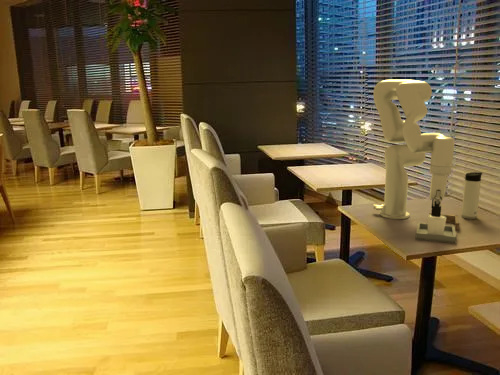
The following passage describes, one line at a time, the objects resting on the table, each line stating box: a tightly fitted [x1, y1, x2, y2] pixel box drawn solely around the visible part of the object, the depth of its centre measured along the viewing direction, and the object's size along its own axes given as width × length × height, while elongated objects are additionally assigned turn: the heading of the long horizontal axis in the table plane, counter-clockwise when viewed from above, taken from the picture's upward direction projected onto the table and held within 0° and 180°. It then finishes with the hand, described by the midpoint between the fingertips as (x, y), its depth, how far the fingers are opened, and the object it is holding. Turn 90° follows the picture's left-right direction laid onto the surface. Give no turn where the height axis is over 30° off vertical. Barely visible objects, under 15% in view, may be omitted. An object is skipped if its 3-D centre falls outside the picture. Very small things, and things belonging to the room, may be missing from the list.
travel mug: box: [461, 171, 483, 220], centre depth 206 cm, size 6×7×20 cm
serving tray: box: [415, 222, 457, 244], centre depth 185 cm, size 14×14×2 cm
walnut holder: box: [428, 212, 460, 231], centre depth 198 cm, size 11×12×3 cm
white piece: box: [426, 214, 447, 235], centre depth 184 cm, size 7×7×7 cm
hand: (435, 212), depth 184 cm, fingers open, 9 cm apart
